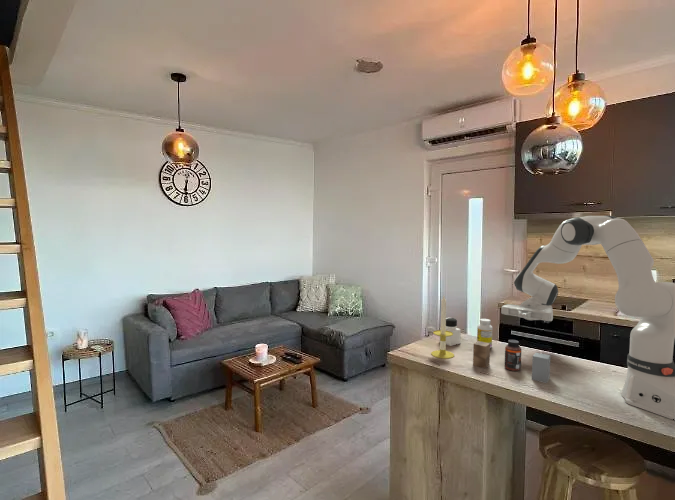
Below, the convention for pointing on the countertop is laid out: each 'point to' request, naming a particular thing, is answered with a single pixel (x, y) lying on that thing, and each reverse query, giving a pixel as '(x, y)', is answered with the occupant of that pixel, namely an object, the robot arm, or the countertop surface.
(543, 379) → the slate block
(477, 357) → the walnut block
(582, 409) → the countertop surface
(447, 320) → the medicine bottle
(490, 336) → the supplement bottle
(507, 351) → the supplement bottle
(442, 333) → the candle
